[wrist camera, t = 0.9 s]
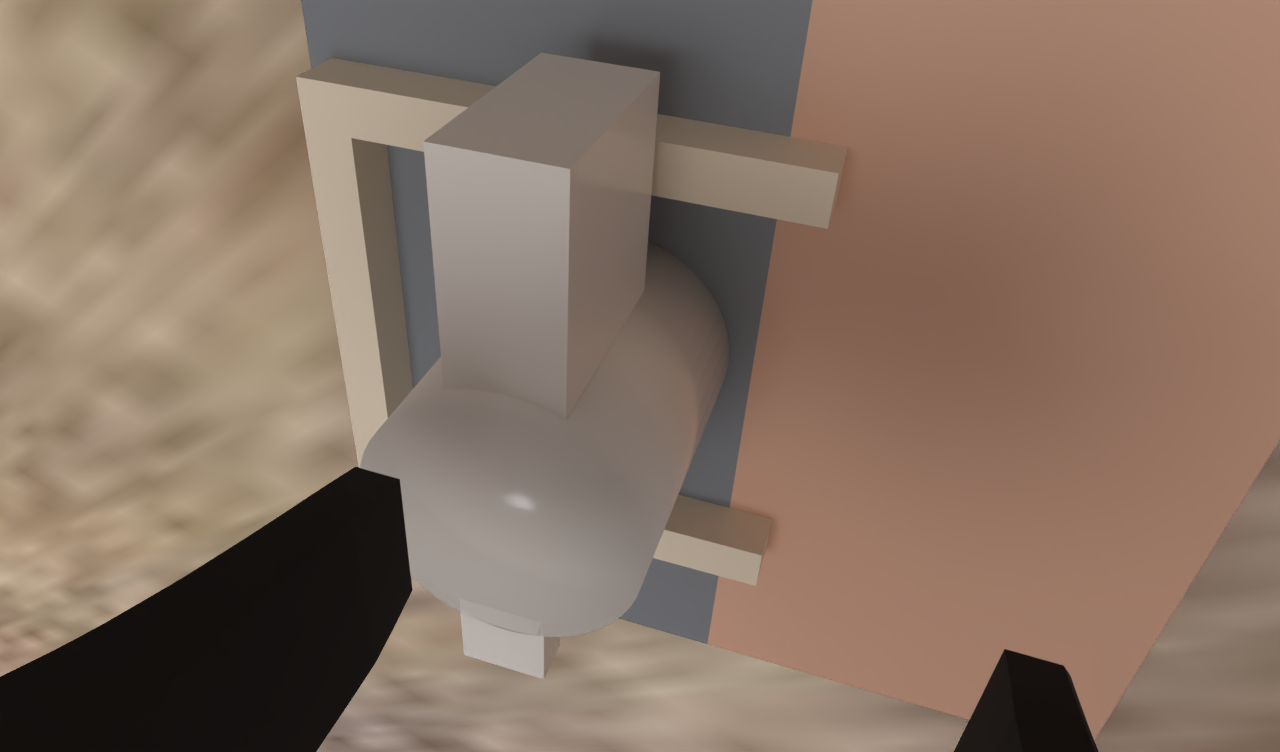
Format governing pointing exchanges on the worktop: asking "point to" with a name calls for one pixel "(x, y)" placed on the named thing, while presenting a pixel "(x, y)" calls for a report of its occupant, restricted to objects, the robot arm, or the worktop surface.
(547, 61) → the jug
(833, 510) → the jug holder
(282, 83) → the worktop surface
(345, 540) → the robot arm
